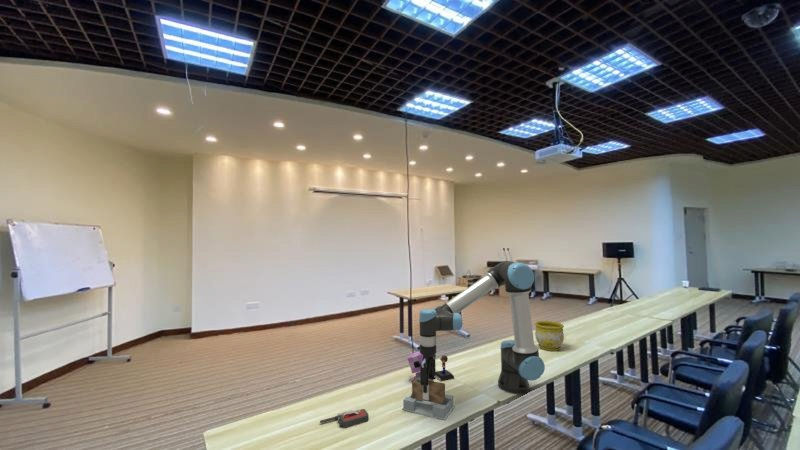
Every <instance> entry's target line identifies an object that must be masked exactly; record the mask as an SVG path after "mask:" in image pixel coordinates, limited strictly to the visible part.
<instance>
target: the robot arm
mask: <svg viewBox="0 0 800 450" xmlns="http://www.w3.org/2000/svg"><path fill="white" fill-rule="evenodd" d="M534 281H535V274H534V271H533V269H532V268H531V266H529V265H527V264H526V263H523V262H520V261H509V260H504V261H501V262H500V263H498V264H496V265H495V266H493V267H492V268H489V270H488V271H486V272H485V275H484V276H482V277H480V279H478V280H477V281H475V282H474V283H472V284H471V285H470V286H468V287H467V288H466V289H463V290H462V291H461V292H459V294H456V295H455V296H453V298H450V300H448V301H447V302H445V303H444V304H442V305H438V306H435V307H434V308H433V309H432V308H431V309H430V308H426V309H425V308H424V309H421V310H420V312H419V320H418V321H419V323H418V324H419V336H418V338H419V351H420V353H421V354H422V355H423V359H422V361H423V362H420V384H421V385H423V399H425V400H429V385H428V380H429V381H434V382H435V380H436V379H437V378H436V377H434V376H436V359H437V358H436V356H437V355H436V353H437V332H442V331H443V332H445V331H459V330H461V329H462V328H463V317H462V315H461V312H463V311H464V310H465V309H467V308H468V307H469V306H471V305H472V304H474V303H475V302H477V301H478V300H480V299H481V298H482V297H484V296H485V295H486V294H488V293H489V292H491V291H492V290H494V289H499V288H500V287H502V286H504V287H505V289H504V291H505V293H507V294H508V295H509V305H510V312H511V320H512V330H513V337H514V339H513V340H512V339H507V340H503V341H502V342H501V343H500V363H501V365H500V367H501V368H500V373H499V377H498V380H497V387H498V388H499V389H500V390H502V391H504V392H507V393H509V394H510V393H511V394H524V393H527V392H529V391H530V383H529V381H537V380H538V379H540V378H541V377H542V375H543V374H544V372H545V369H546V368H545V367H546V365H545V362H544V360H543V359H542V358H541V357H540V354H539V353H540V352H539V348H538V347H539V346H538V345H536V344H535V339H534V331H533V324H532V323H533V322H532V316H531V315H532V314H531V306H530V298H529V294H530V293H531V292H532V285H533V284H534ZM426 366H427V367H426Z"/></svg>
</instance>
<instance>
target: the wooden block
mask: <svg viewBox="0 0 800 450" xmlns="http://www.w3.org/2000/svg"><path fill="white" fill-rule="evenodd" d="M428 385H429V400H425V399H423V385H421V384H420V377H419V378H416V379H415V380H414V379H413V381H412V382H411V392H412V393H411V394H412V398H415V399H420V400H424V401H429V402H433V403H438V404H442V403H443V402H444V400H445V394H446V383H445V382H444V383H443V382H441V381H435V380H434V381H429V380H428Z"/></svg>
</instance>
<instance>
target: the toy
mask: <svg viewBox="0 0 800 450" xmlns="http://www.w3.org/2000/svg"><path fill="white" fill-rule="evenodd" d="M422 359H423V355H422V354H421V353H420V350H419V351H416V352H413V353H410V354H409V355H408V357H407V361H408V365H409V367H410V371H411V373H412V374H415V376H414V378H413V381H414V380H415V379H416V378H419V377H420V362H423V361H422ZM426 367H427V366H426Z"/></svg>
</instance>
